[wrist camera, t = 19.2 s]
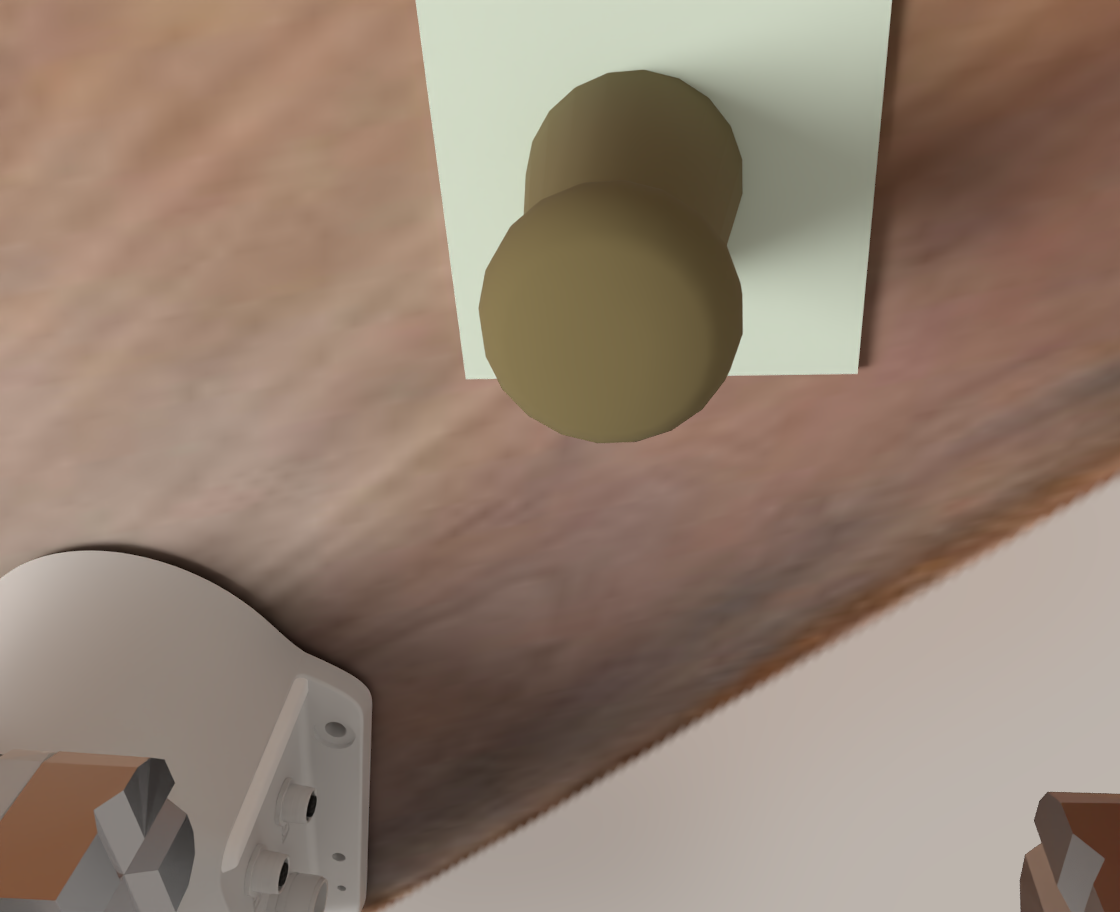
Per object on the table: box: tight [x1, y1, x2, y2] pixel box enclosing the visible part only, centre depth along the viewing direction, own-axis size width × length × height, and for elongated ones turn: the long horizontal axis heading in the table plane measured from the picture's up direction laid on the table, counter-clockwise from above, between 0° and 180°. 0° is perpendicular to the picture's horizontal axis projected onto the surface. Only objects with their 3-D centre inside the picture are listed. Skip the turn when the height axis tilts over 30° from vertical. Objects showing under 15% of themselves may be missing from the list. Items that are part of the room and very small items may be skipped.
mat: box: [416, 0, 892, 379], centre depth 28 cm, size 12×12×1 cm
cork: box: [478, 70, 743, 443], centre depth 23 cm, size 6×6×11 cm
